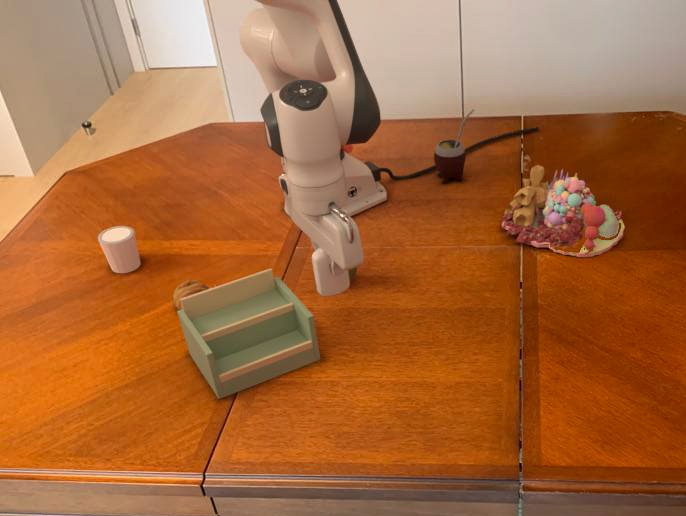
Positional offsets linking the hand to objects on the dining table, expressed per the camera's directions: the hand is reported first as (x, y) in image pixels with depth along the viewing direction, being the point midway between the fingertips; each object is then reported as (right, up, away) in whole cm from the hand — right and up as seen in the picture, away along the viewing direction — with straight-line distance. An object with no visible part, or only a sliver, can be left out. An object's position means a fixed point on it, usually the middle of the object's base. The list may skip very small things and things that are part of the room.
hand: (330, 266), depth 135 cm
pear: (0, 0, +17) cm, 17 cm away
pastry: (-26, -5, +13) cm, 29 cm away
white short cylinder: (-43, +4, +24) cm, 50 cm away
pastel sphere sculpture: (+44, +14, +30) cm, 55 cm away
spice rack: (-13, -15, +1) cm, 20 cm away
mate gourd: (+22, +28, +48) cm, 59 cm away
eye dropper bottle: (0, -4, +3) cm, 5 cm away
